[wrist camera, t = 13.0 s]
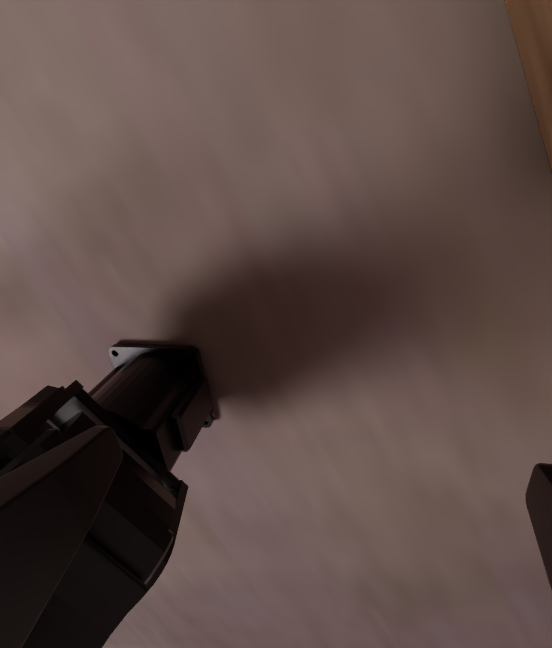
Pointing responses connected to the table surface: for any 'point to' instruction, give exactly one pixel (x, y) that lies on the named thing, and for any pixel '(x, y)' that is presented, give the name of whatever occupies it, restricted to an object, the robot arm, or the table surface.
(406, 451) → the table surface
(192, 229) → the table surface
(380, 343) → the table surface
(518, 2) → the cold frame
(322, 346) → the table surface
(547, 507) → the robot arm
